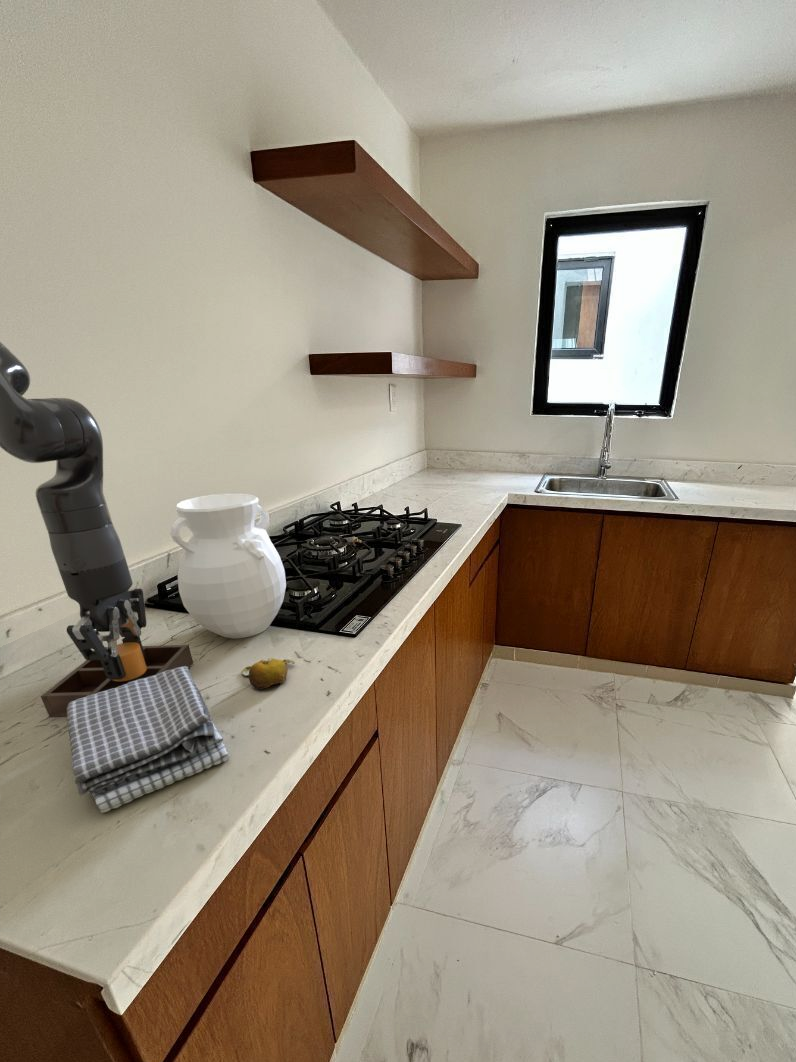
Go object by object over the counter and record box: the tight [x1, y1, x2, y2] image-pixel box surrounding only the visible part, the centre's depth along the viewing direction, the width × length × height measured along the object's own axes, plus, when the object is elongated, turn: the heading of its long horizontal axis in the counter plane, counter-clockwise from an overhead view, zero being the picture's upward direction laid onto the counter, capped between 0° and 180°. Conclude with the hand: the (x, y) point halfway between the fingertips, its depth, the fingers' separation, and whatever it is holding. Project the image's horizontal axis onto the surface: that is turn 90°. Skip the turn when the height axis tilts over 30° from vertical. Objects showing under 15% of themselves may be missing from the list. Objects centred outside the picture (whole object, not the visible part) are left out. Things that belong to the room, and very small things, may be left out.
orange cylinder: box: [113, 642, 147, 682], centre depth 73 cm, size 5×5×4 cm
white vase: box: [170, 492, 287, 640], centre depth 93 cm, size 19×18×25 cm
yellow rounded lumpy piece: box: [241, 658, 295, 691], centre depth 80 cm, size 8×8×4 cm
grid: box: [40, 644, 194, 718], centre depth 78 cm, size 14×14×4 cm
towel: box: [66, 666, 230, 814], centre depth 63 cm, size 15×18×8 cm
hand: (127, 668), depth 73 cm, fingers closed on orange cylinder, 4 cm apart
